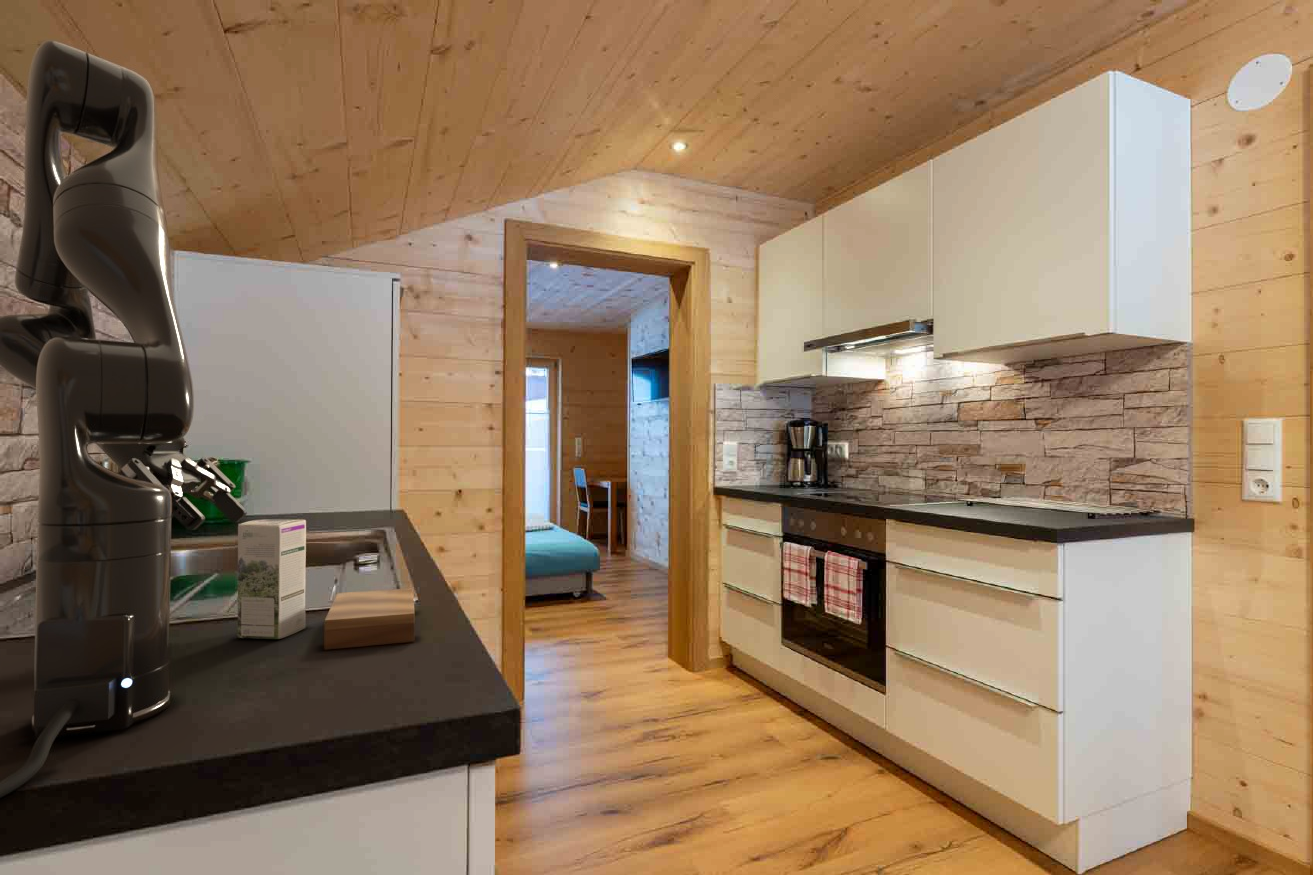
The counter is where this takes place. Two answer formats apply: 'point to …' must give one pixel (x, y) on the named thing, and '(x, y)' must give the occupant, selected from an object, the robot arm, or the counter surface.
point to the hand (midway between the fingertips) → (220, 521)
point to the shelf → (370, 619)
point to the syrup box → (271, 578)
